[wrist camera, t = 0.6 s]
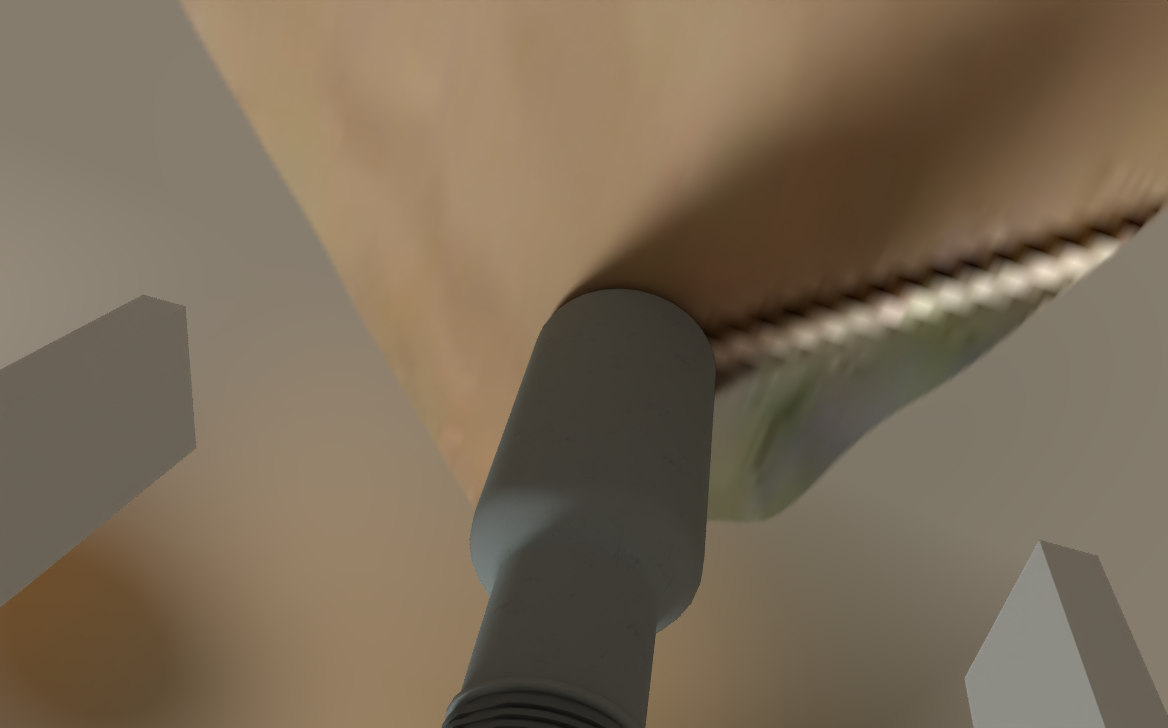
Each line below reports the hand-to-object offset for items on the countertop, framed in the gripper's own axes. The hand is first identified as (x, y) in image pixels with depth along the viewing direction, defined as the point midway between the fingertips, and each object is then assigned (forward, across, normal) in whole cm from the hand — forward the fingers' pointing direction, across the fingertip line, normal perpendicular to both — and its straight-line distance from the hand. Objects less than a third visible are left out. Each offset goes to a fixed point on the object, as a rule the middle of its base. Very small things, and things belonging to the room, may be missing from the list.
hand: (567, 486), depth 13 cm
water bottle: (+31, -3, -14) cm, 34 cm away
